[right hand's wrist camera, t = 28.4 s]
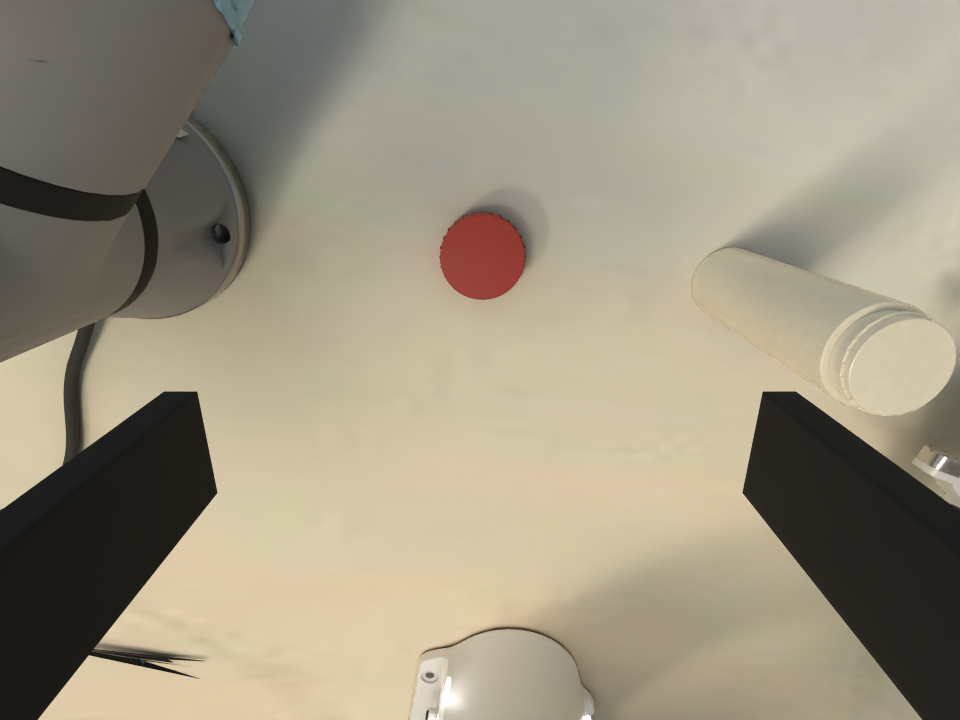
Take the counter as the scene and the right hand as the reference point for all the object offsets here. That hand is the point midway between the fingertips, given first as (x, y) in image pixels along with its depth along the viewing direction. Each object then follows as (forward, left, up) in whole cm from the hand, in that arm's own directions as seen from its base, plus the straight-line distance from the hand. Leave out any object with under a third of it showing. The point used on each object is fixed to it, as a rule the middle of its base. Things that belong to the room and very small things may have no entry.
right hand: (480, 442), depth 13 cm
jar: (+14, -12, -29) cm, 34 cm away
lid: (0, 0, -27) cm, 27 cm away
